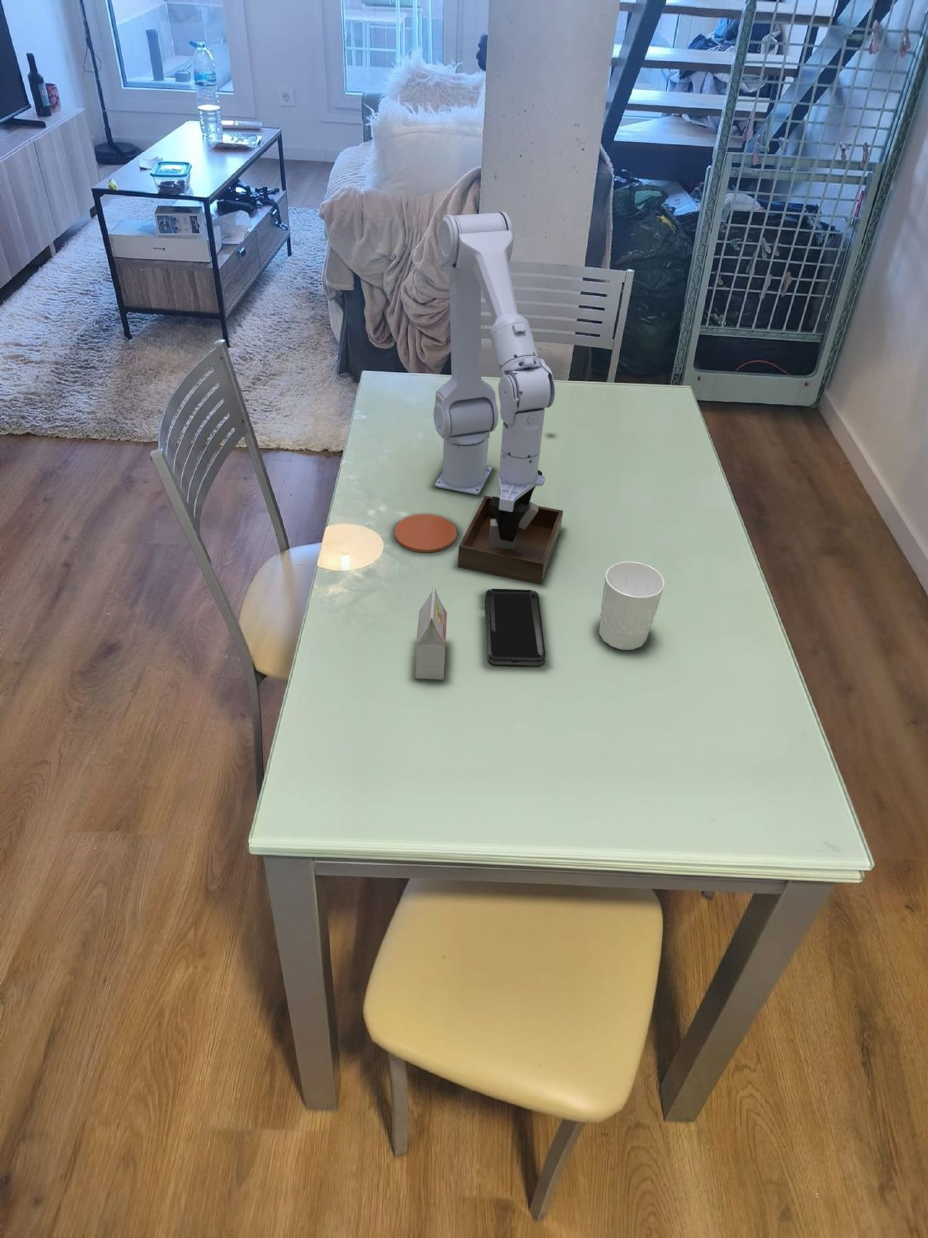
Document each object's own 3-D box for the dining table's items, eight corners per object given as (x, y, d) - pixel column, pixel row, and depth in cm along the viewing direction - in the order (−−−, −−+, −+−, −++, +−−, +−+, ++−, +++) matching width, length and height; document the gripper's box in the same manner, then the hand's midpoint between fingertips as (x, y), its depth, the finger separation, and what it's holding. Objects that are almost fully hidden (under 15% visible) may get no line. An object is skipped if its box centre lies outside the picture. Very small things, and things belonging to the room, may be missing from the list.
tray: (483, 515, 138) (484, 495, 135) (560, 530, 135) (563, 510, 133) (457, 566, 127) (458, 546, 124) (541, 584, 124) (543, 563, 122)
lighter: (488, 547, 130) (492, 505, 125) (488, 541, 131) (492, 498, 126) (533, 550, 130) (538, 507, 125) (533, 543, 131) (538, 501, 126)
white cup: (615, 659, 112) (628, 603, 106) (583, 625, 117) (594, 569, 111) (661, 643, 115) (676, 587, 108) (628, 610, 120) (641, 555, 114)
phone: (537, 590, 121) (546, 660, 110) (537, 595, 122) (545, 666, 110) (484, 588, 121) (487, 658, 109) (484, 594, 121) (486, 664, 110)
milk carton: (415, 678, 108) (416, 621, 101) (418, 643, 113) (419, 586, 106) (443, 679, 108) (445, 622, 101) (445, 645, 113) (447, 588, 106)
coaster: (406, 512, 137) (406, 509, 137) (463, 523, 135) (464, 520, 135) (385, 545, 130) (385, 542, 130) (445, 557, 128) (446, 554, 128)
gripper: (536, 477, 113) (527, 557, 122) (557, 430, 124) (547, 507, 133) (487, 468, 115) (482, 548, 123) (512, 423, 125) (505, 499, 134)
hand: (513, 526), depth 128 cm, fingers open, 7 cm apart
